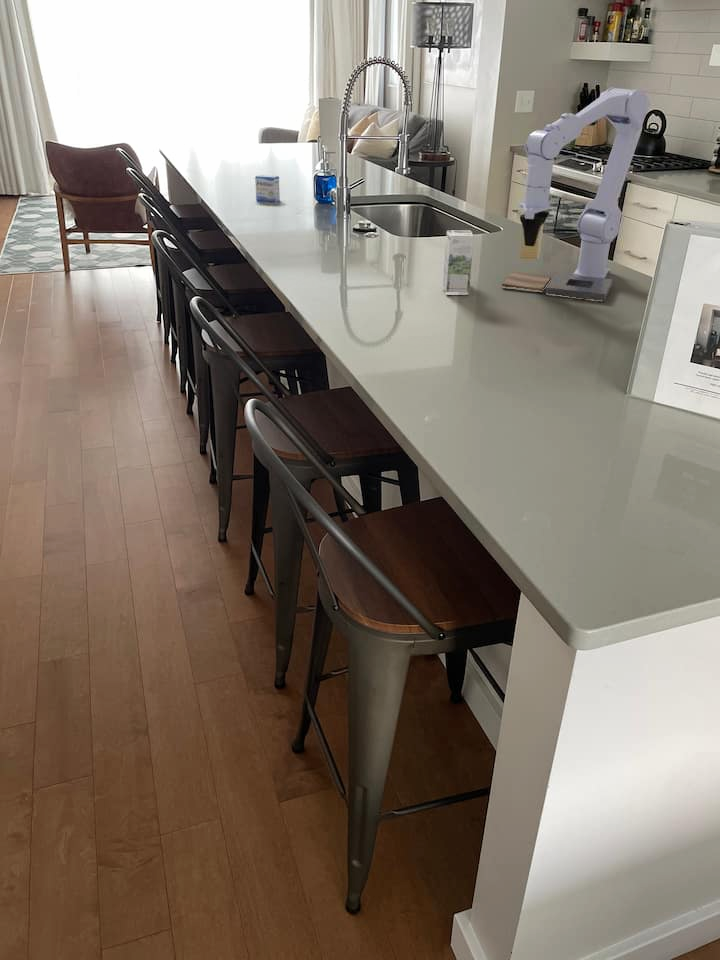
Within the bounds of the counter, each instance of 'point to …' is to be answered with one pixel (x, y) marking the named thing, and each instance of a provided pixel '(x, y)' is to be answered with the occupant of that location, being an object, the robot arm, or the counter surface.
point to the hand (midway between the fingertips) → (531, 243)
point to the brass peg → (532, 251)
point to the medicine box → (267, 188)
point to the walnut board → (527, 281)
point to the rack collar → (579, 286)
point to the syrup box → (458, 260)
